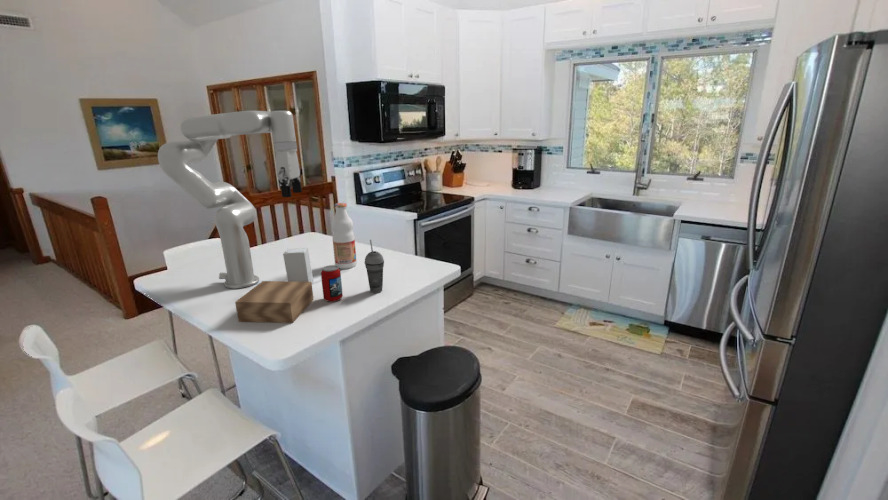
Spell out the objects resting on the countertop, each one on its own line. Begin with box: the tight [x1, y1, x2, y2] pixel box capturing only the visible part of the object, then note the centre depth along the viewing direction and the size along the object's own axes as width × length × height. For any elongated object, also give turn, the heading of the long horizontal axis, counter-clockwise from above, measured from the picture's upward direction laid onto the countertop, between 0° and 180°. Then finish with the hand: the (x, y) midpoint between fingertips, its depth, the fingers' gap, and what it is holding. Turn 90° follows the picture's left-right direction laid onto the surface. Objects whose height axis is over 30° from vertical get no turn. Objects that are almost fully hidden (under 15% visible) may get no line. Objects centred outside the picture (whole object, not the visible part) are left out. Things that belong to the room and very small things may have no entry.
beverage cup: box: [364, 239, 385, 294], centre depth 153 cm, size 7×7×20 cm
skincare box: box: [282, 247, 314, 285], centre depth 159 cm, size 8×6×15 cm
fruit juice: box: [331, 202, 357, 270], centre depth 180 cm, size 9×9×28 cm
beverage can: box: [320, 264, 344, 303], centre depth 147 cm, size 7×7×12 cm
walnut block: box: [235, 280, 315, 324], centre depth 140 cm, size 18×18×7 cm
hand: (292, 194), depth 152 cm, fingers open, 9 cm apart
